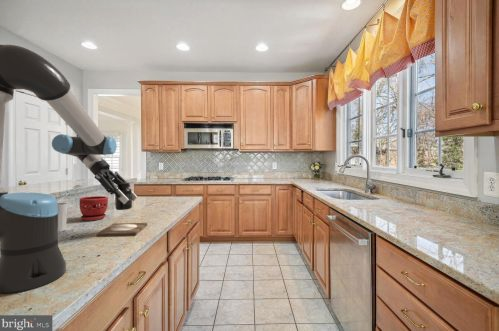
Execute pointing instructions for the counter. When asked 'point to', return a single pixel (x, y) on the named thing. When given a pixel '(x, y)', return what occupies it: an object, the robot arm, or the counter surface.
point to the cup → (62, 215)
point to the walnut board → (122, 229)
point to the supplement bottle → (127, 192)
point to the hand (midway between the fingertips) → (131, 200)
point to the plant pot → (93, 207)
